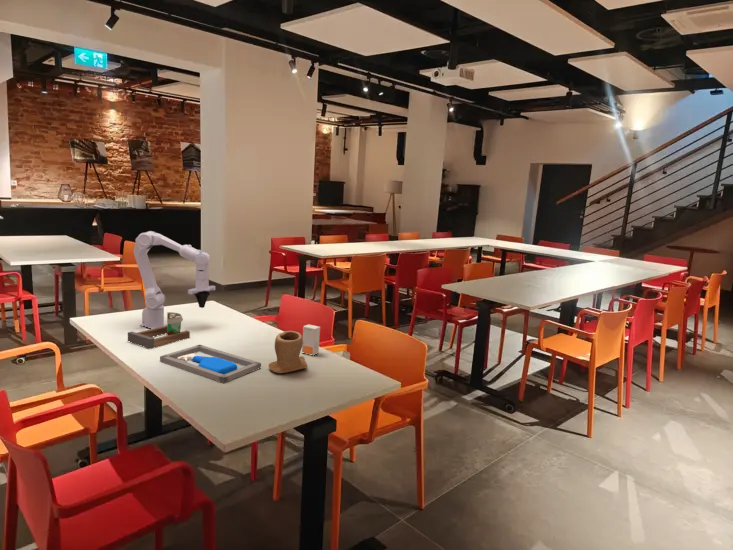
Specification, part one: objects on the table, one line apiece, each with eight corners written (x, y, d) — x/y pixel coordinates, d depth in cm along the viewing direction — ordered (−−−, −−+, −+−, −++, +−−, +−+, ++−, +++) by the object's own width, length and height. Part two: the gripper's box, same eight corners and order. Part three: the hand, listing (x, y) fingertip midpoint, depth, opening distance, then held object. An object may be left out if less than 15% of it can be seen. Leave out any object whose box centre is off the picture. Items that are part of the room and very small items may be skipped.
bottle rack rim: (160, 361, 184) (160, 356, 184) (199, 349, 200) (199, 344, 200) (223, 383, 168) (223, 377, 168) (260, 368, 185) (261, 363, 184)
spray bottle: (240, 363, 181) (197, 349, 194) (216, 371, 172) (173, 355, 185) (239, 370, 182) (197, 356, 195) (216, 379, 173) (173, 363, 186)
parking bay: (132, 340, 205) (132, 333, 204) (168, 331, 220) (168, 325, 220) (154, 347, 198) (154, 340, 198) (189, 337, 214) (189, 331, 213)
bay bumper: (127, 341, 203) (127, 332, 202) (132, 340, 205) (132, 331, 204) (149, 348, 196) (149, 339, 196) (154, 347, 198) (154, 338, 198)
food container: (183, 341, 209) (183, 318, 207) (167, 342, 206) (168, 319, 204) (181, 333, 220) (182, 311, 218) (167, 333, 217) (167, 312, 216)
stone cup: (278, 378, 176) (280, 339, 173) (264, 368, 185) (266, 330, 183) (315, 372, 185) (317, 334, 182) (299, 362, 194) (301, 325, 192)
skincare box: (301, 353, 204) (302, 326, 202) (307, 351, 208) (308, 323, 206) (313, 356, 202) (314, 328, 199) (318, 354, 205) (320, 326, 203)
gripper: (195, 281, 216) (195, 311, 218) (220, 278, 229) (219, 306, 231) (184, 279, 219) (184, 308, 222) (209, 275, 232) (209, 303, 234)
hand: (201, 307), depth 227 cm, fingers closed
